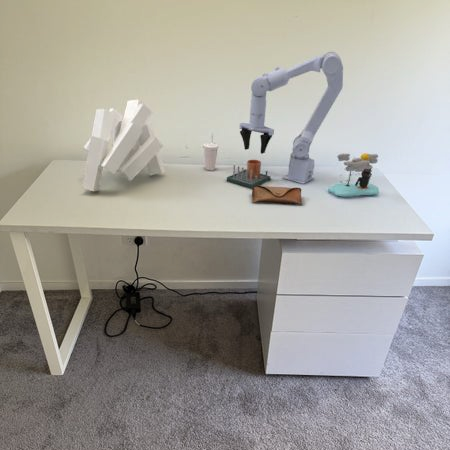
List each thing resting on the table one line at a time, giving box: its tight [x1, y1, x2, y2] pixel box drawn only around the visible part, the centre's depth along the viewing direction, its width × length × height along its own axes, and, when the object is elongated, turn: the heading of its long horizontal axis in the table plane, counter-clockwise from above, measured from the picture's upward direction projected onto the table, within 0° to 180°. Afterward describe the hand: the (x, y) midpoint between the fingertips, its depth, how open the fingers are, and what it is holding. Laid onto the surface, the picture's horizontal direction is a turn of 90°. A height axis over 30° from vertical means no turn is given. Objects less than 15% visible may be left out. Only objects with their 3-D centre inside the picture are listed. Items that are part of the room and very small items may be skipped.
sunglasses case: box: [251, 185, 303, 206], centre depth 137 cm, size 18×7×7 cm
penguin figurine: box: [327, 152, 380, 198], centre depth 141 cm, size 20×11×15 cm, turn 101°
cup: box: [246, 159, 262, 179], centre depth 150 cm, size 5×5×6 cm
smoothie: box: [202, 133, 219, 171], centre depth 158 cm, size 6×6×14 cm
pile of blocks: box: [81, 98, 166, 192], centre depth 143 cm, size 35×30×35 cm
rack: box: [226, 164, 271, 190], centre depth 150 cm, size 12×13×6 cm
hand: (254, 151), depth 153 cm, fingers open, 7 cm apart
